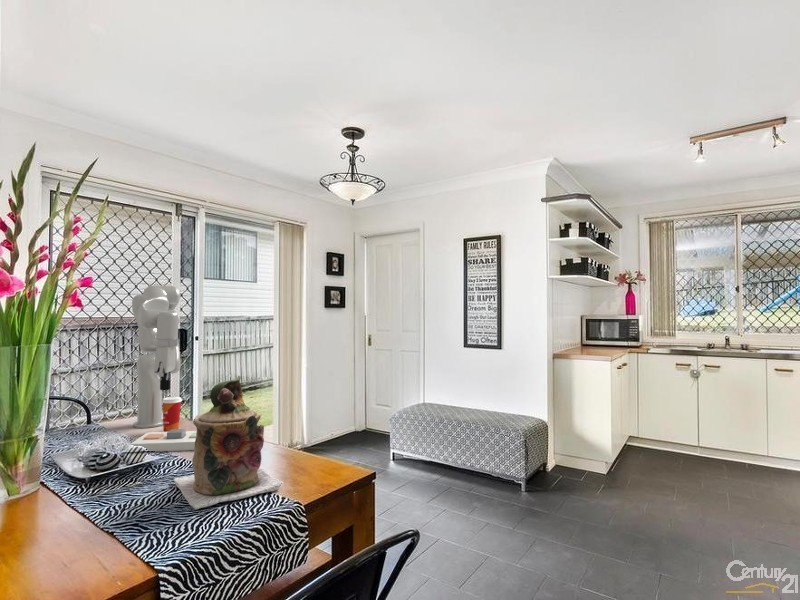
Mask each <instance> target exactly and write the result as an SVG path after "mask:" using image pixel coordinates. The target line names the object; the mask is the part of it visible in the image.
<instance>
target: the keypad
mask: <svg viewBox="0 0 800 600" xmlns="http://www.w3.org/2000/svg"><path fill="white" fill-rule="evenodd" d="M193 433H197V430H186V435H185V436H184V437H183V438H182V439H167V432H164V431H148V432H146V433H145V434H143V435H142V436H140V437H139V438H137V439H135V440H134V441H133V442H131V443H130V445H134V446H143V447H146V448H147V450H148V451H155V452H175V451H177V452H178V451H179V452H181V451H194V447H195V440H196V438H189V436H190V435H192V434H193ZM148 434H164V435H163V437H162V438H161V439H154V440H144V437H146V436H147V435H148ZM130 445H129V446H130Z"/></svg>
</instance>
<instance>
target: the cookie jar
mask: <svg viewBox="0 0 800 600" xmlns="http://www.w3.org/2000/svg"><path fill="white" fill-rule="evenodd" d="M241 378H242V377H241V375H238V376H237V378H236V379H230V380H225V381H222V382H219V383H217V384H216V385H214V386H213V387H212V388H211V391H210V394H209V395H210V402H211V403H212V405H213V406H212V407H211V408H210V410H209V411H207V412H203V413H200V414H197V415H195V417H194V419H193V421H192V422H193V425H194V426H195V428H196V431H197V433H196V440H195V447H194V450H193V457H192V461H191V463H192V468H193V474H191V475H185V476H180V477H174V479H173V482H174V484H175V486H176V487H177V488H178V489H179V490H180V492H181V493H182V495H183V497H184V499H185V500H186V501H187V503H188V504H189V506H190V507H192V508H193V509H195V510H196V511H197V510H199V509H201V508H202V509H203V508H207V507H211V506H213V505H217V504H218V503H222V502H228V501H229V502H230V501H235V500H241V499H245V498H249V497H252V496H257V495H261V494H264V493H269V492H275V491H277V490H279V489H280V488H281V486H282V485H283V484H284V482H283V481H282V480H280V479H278V478H275V477H272V476H271V474H269V473H268V472H266V471H265V469H263V468H262V467H261V465H262V449H263V447H264V443H265V438H264V434H265V432H264V431H265V426H264V424H259V423H258V422H259V421H260V420H261V414H260V413H259V412H257V411H255V410H252V409H251V408H250V407H249V406H248V405H246V404H245V401H244V400H243V399H244V398H243V389H242V384H241V382H240V380H241ZM258 424H259V425H258Z"/></svg>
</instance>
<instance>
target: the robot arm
mask: <svg viewBox="0 0 800 600" xmlns="http://www.w3.org/2000/svg"><path fill="white" fill-rule="evenodd" d="M180 300H181V294H180V291H179V289H178V287H176V286H174V285H161V284H160V285H158V284H157V285H155V284H154V285H152V284H151V285H149V286H147V287H146V288H144V290H143V292H142V294H141V293H140V294H137V295H135V296H133V298H132V300H131V310H132V314H133V316H134V318H135V321H136V323H137V327H138V343H139V348H140V351H141V352H143V353H145V354H142V355H140V356H138V358H137V359H136V370H137V379H138V380H137V383H138V384H137V388H138V390H137V416H136V417H137V421H134V422H133V423H132V427H133V428H136V429H147V428H148V429H149V428H150V429H151V428H156V427H161V426H163V404H162V401H163V391H169V390H170V389H171V377H172V375H174V374H177V373H179V372H180V370H181V365H182V364H181V363H182V361H181V354H180V353H181V352H180V345H179V343H180V342H179V341H180V340H179V324H180V319H181V318H180V314H179V313H178V311H176V310H175V309H176V307H177V306H178V305H179V303H180ZM157 376H158V377H157ZM159 378H160V379H159Z"/></svg>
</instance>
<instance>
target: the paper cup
mask: <svg viewBox="0 0 800 600" xmlns="http://www.w3.org/2000/svg"><path fill="white" fill-rule="evenodd" d="M182 402H183V400H182V397H180V396H171V397H170V396H168V397H163V398H162V419H163V425H162V427H163V431H162V432H169V431H170V430H171V429H180V428H179V427H180V419H181V407H182Z"/></svg>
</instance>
